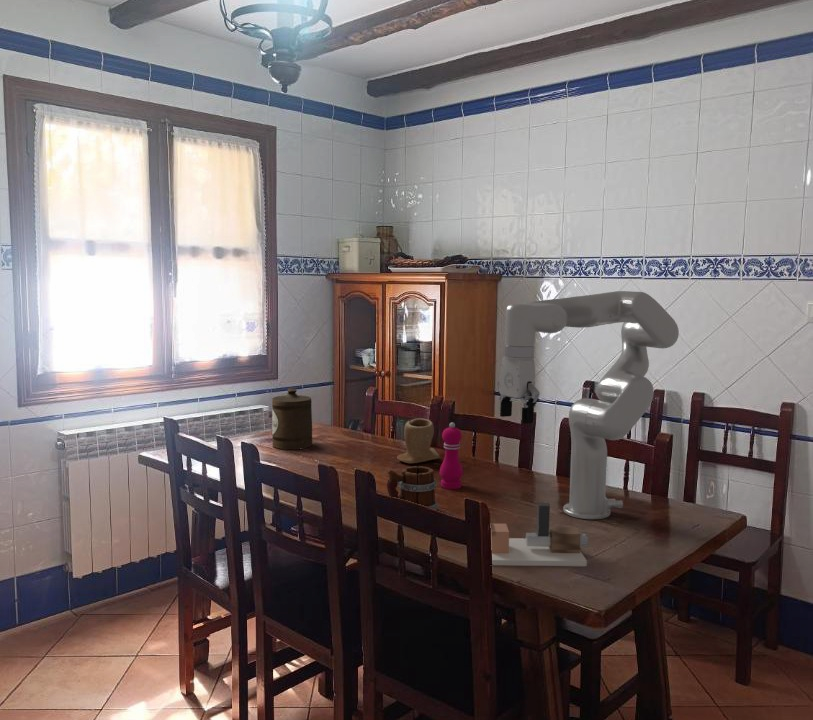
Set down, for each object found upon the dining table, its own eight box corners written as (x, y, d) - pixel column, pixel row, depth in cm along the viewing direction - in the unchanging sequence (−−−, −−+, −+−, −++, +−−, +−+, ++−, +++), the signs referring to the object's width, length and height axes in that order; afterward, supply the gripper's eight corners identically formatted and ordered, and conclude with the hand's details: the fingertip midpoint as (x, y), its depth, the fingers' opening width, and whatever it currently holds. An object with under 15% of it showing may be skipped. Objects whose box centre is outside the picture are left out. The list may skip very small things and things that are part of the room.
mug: (449, 513, 201) (442, 461, 199) (404, 530, 195) (395, 477, 192) (428, 502, 212) (421, 452, 209) (384, 517, 205) (376, 466, 203)
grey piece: (585, 543, 175) (586, 503, 174) (587, 547, 172) (589, 506, 171) (525, 542, 175) (526, 502, 174) (527, 546, 172) (528, 505, 171)
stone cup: (412, 468, 249) (412, 424, 247) (392, 460, 259) (393, 418, 257) (448, 462, 258) (448, 419, 256) (428, 455, 267) (428, 414, 266)
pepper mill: (461, 490, 224) (462, 425, 222) (437, 488, 226) (438, 424, 223) (464, 483, 231) (465, 420, 229) (441, 482, 233) (442, 419, 230)
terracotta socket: (505, 544, 176) (506, 523, 176) (508, 553, 171) (509, 531, 170) (488, 544, 176) (489, 523, 176) (491, 553, 171) (491, 531, 170)
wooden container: (279, 440, 289) (278, 384, 286) (316, 442, 287) (316, 385, 284) (267, 449, 274) (266, 390, 271) (306, 450, 272) (305, 391, 269)
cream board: (573, 543, 181) (573, 538, 181) (586, 566, 167) (586, 561, 167) (482, 542, 181) (482, 537, 181) (488, 565, 167) (488, 559, 167)
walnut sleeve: (575, 546, 176) (576, 527, 175) (579, 553, 171) (580, 534, 171) (547, 545, 176) (548, 526, 175) (551, 552, 171) (552, 533, 171)
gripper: (488, 349, 194) (485, 414, 195) (526, 356, 178) (523, 426, 180) (512, 349, 197) (509, 413, 199) (552, 356, 181) (548, 425, 183)
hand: (516, 419), depth 189 cm, fingers open, 9 cm apart
